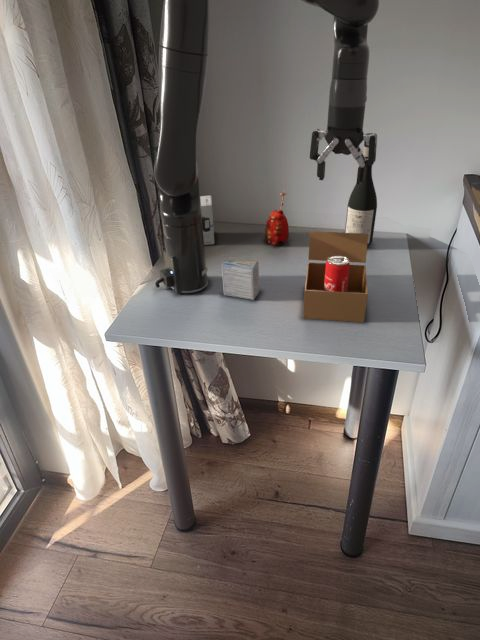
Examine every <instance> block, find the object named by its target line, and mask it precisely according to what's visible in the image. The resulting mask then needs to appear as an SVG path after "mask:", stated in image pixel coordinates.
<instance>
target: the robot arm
mask: <svg viewBox="0 0 480 640" xmlns="http://www.w3.org/2000/svg"><path fill="white" fill-rule="evenodd" d="M301 1H302V2H303V3H306V4H308V5H310V6H312V7H317V8H320V9H322V10H323V11H325V12H327V13H328V14H329V15H332V16H333V40H334V41H333V42H334V46H333V47H334V49H333V50H334V51H333V57H332V69H331V70H332V71H331V74H332V75H331V81H330V87H329V95H328V112H327V123H326V125H327V126H326V131H324V130H320V128H316V129H315V130H313V131H312V133H311V140H310V149H309V160H311V161H315V162H316V163H317V166H316V176H317V178H318V180H319V181H323V180H324V179H325V177H326V175H325V174H326V161H325V160H326V159H327V158H328V156H330V154H331V153H334V155H340V154H342V155H345V156H350V155H352V157H353V159H354V160H355V161H356V163H357V164H358V167H357V174H356V183H355V185H356V184H359V185H360V183H361V182H363V180H364V178H365V170H366V166H369V165H370V166H371V165H372V166H373V165H374V164H375V162H376V158H377V145H378V134H377V133H375V132H373V134H372V135H365V133H364V123H365V122H364V121H365V113H366V103H367V100H368V99H367V98H368V96H367V93H368V75H369V73H368V72H369V64H370V46H369V44H368V29H369V23H371V22H372V21H373V19H374V18H375V17H376V16H377V13H378V10H379V7H380V0H301ZM160 21H161V22H160V31H159V32H160V33H159V42H158V43H159V46H158V100H159V101H158V103H159V104H158V105H159V119H160V121H159V122H160V123H159V136H158V143H157V144H158V145H157V152H156V157H155V162H154V164H153V176H154V180H155V182H156V184H157V186H158V195H159V207H160V217H161V225H162V231H163V239H164V247H165V249H163V253H162V254H163V259H164V265H165V268H163V269H160V270H159V277H160V278H159V279H158V280H156V281H155V283H154V284H155V287H156V288H158V289H159V288H160V283H163V285H164V286H165V287H166V288H167V289H169V288H170V289H171V290H173V292H174V293H175V294H176V295H181V294H195V293H199V292H201V291H203V290H204V289H207V287H208V284H209V280H208V273H207V272H208V271H209V270H208V267H207V261H206V250H205V249H206V248H205V245H204V238H203V226H202V214H201V199H200V196H201V189H200V179H199V165H198V161H197V140H198V139H197V138H198V137H197V136H198V128H199V127H198V126H199V120H200V116H201V111H202V106H203V101H204V94H205V90H206V84H207V83H206V82H207V75H208V66H209V65H208V64H209V53H210V31H211V30H210V0H163V4H162V12H161V20H160ZM323 138H324V139H325V142H326V143H327V145H328V146H327V147H326V148H325V149H324V150H323V152H322V153H321V154H320V153H319V145H320V142H321V141H322V140H323ZM363 141H364V142H365V141H366V145H367V146H369V154H368V159H366V158H365V157H364V155H363V150H362V148H361V146H360V145H361V144H362V142H363Z"/></svg>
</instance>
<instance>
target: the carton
mask: <svg viewBox="0 0 480 640" xmlns="http://www.w3.org/2000/svg"><path fill="white" fill-rule="evenodd" d="M366 267H367V266H366V264H353V263H352V264H351V263H350V267H349V276H348V285H347V292H335V291H324V282H325V269H326V262H311V261H308V262H307V267H306V276H305V283H304V290H303V291H304V293H303V295H304V296H303V315H302V319H307V320H308V319H309V320H321V321H322V320H323V321H337V322H338V321H339V322H352V323H353V322H354V323H364V322H365V318H366V309H367V304H368V296H369V289H368V281H367V269H366Z"/></svg>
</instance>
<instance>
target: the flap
mask: <svg viewBox="0 0 480 640" xmlns="http://www.w3.org/2000/svg"><path fill="white" fill-rule="evenodd" d="M367 244H368V234H361V233H345V232H339V231H338V232H337V231H336V232H335V231H317V230H316V231H314V230H313V231H311V230H310V231H309V245H308V259H307V260H308V261H323V262H327V259H328V258H329V257H331V256H335V255H339V256H344V257H346V258H348V259H349V263H361V264H363V263H364V264H366V260H367V252H368V247H367Z"/></svg>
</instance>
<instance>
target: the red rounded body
mask: <svg viewBox="0 0 480 640" xmlns="http://www.w3.org/2000/svg"><path fill="white" fill-rule="evenodd" d="M286 192H287V189H285V190H284V192H280V197H281V202H280V209H279V210H277V209H274V210H272V212H271V213H270V214H269V217H268V219H267V220H266V225H265V228H264V236H265V239H264V240H265V241H266V242H267V243H268V244H269V245H271V246H275V247H277V246H278V245H280V246H281V245H284V244H285V243H287V241H288V240H289V237H290V229H289V227H290V226H289V222H288V219H287V217H286V215H285V213H284V211H283V206H284V198H285V195H287V194H288V193H286Z"/></svg>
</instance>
